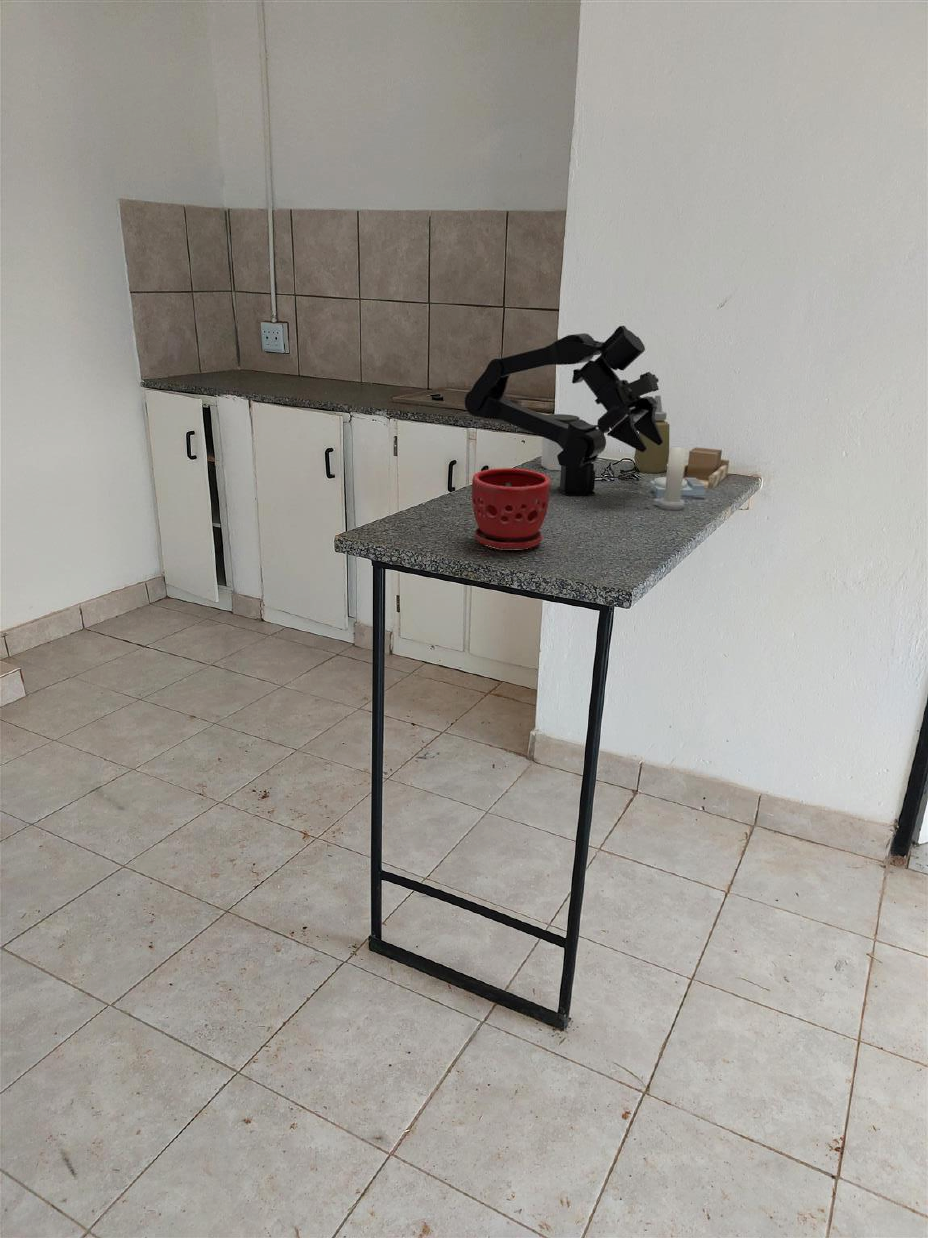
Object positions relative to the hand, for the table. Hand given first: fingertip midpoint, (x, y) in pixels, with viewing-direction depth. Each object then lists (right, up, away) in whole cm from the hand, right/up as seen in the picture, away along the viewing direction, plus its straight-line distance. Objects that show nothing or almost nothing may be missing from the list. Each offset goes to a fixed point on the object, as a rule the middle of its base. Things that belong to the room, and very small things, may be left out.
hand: (653, 447), depth 179 cm
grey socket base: (+8, -8, +12) cm, 16 cm away
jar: (-15, +2, +36) cm, 39 cm away
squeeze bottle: (+6, -1, +31) cm, 32 cm away
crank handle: (+4, -12, +2) cm, 13 cm away
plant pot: (-30, -22, -25) cm, 45 cm away
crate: (+17, -2, +25) cm, 30 cm away
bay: (+15, -4, +23) cm, 27 cm away
